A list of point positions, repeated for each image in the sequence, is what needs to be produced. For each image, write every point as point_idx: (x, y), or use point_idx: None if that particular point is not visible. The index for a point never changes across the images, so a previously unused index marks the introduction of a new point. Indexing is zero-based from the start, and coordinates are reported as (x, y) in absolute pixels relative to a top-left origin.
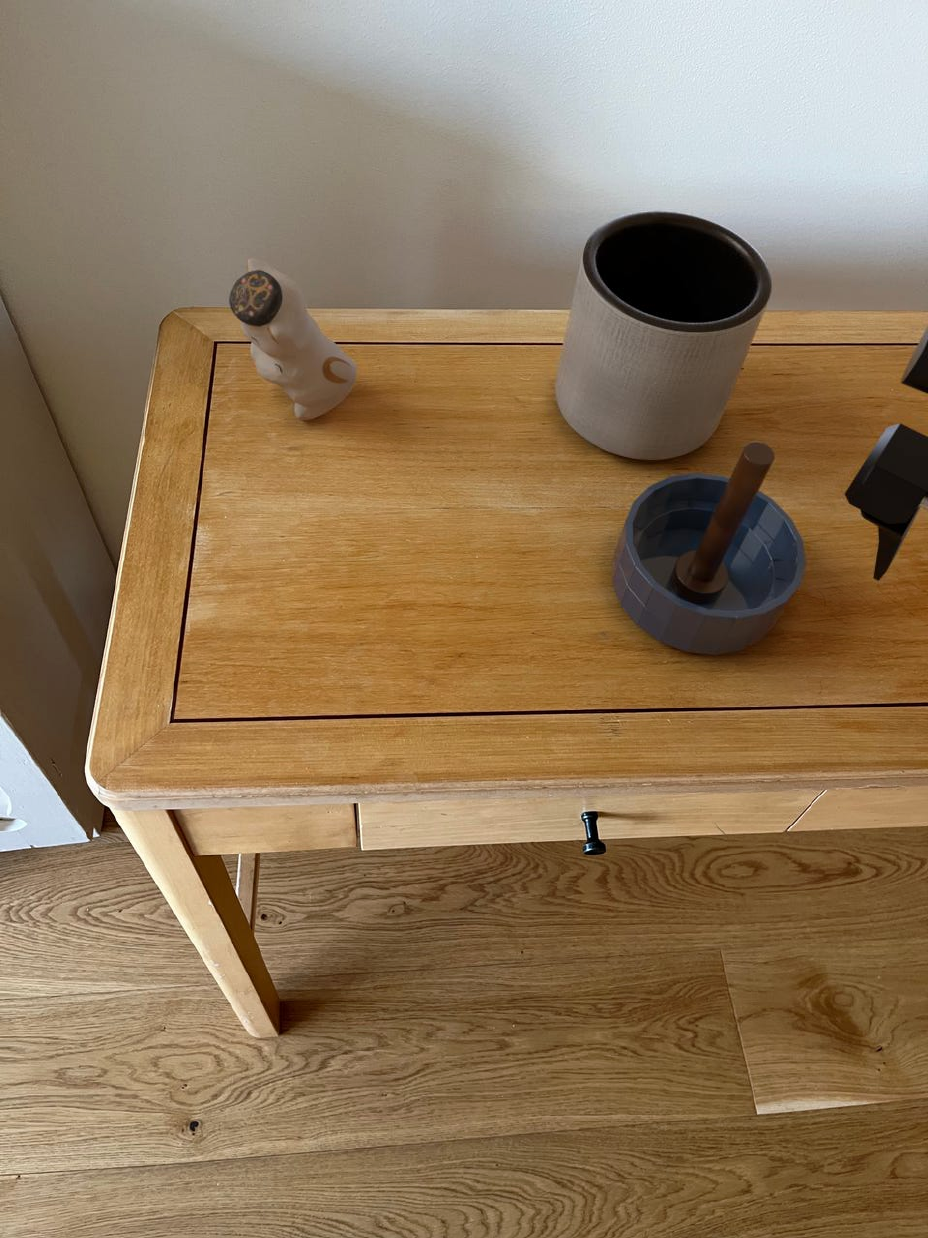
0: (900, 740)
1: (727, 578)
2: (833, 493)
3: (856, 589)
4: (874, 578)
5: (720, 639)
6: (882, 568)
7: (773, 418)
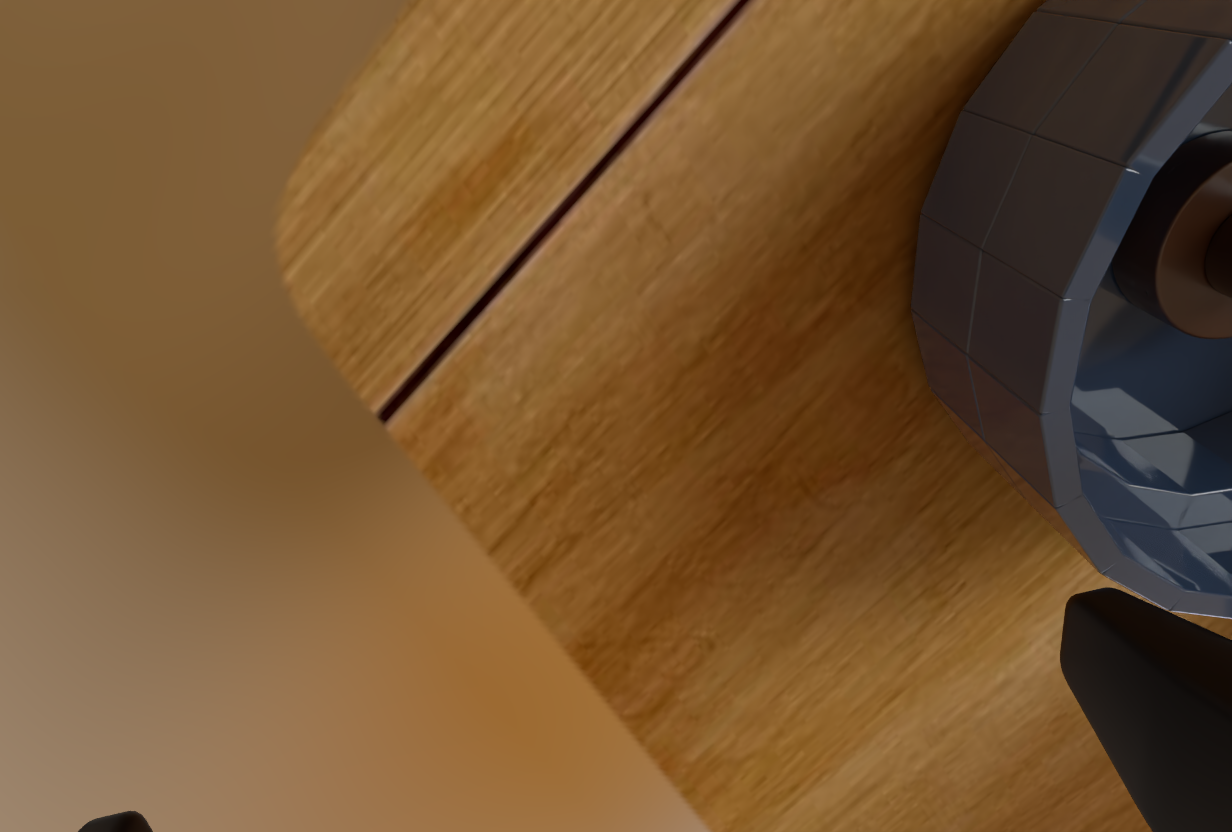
0: (330, 259)
1: (1161, 292)
2: (947, 764)
3: (753, 593)
4: (1112, 588)
5: (1121, 6)
6: (1227, 676)
7: None
